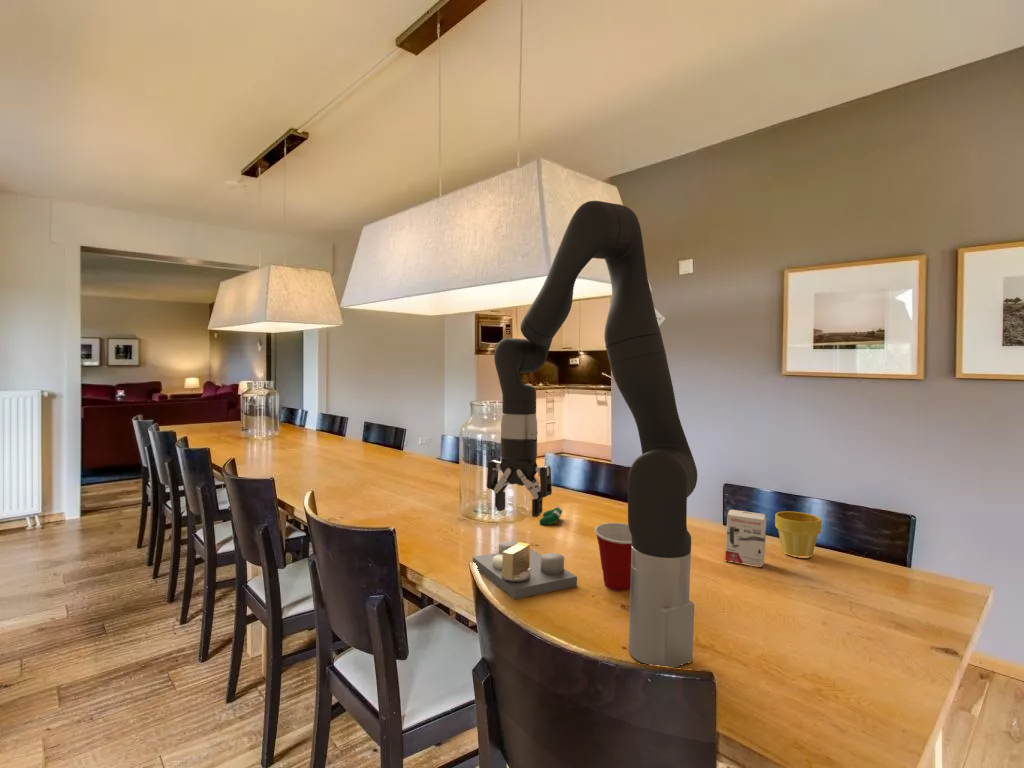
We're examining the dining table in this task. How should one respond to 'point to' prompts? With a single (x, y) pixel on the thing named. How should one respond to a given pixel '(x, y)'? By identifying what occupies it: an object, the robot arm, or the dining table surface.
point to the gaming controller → (551, 516)
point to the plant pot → (797, 532)
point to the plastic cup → (615, 554)
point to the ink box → (745, 537)
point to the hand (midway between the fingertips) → (518, 513)
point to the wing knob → (516, 563)
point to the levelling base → (542, 568)
